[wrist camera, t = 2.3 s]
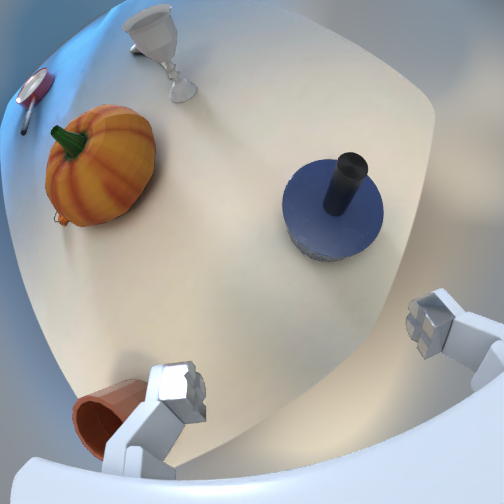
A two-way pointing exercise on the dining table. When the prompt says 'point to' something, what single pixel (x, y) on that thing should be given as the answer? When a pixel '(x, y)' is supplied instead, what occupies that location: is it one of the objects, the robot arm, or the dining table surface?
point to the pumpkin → (99, 164)
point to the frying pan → (34, 93)
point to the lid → (333, 206)
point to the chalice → (159, 44)
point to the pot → (106, 413)
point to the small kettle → (61, 220)
